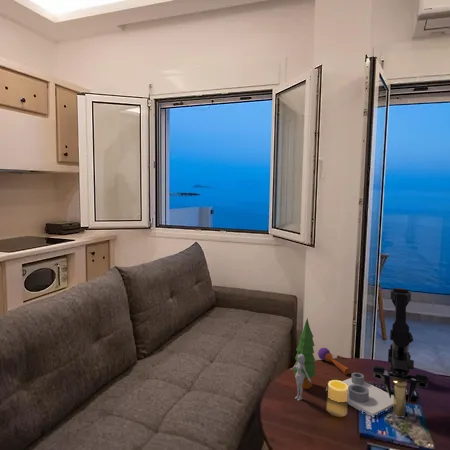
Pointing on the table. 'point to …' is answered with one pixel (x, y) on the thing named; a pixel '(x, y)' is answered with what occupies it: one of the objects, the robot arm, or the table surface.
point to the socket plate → (367, 395)
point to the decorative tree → (306, 354)
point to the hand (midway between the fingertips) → (399, 399)
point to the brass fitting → (399, 396)
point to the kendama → (332, 360)
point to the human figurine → (300, 375)
